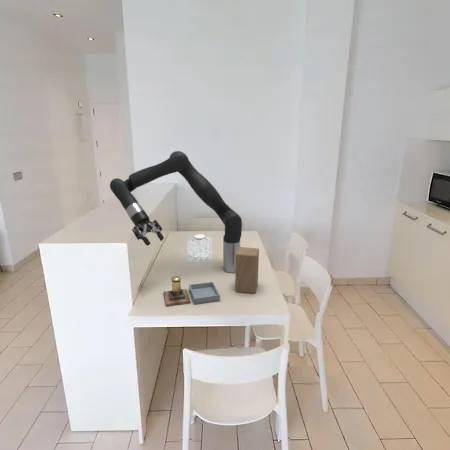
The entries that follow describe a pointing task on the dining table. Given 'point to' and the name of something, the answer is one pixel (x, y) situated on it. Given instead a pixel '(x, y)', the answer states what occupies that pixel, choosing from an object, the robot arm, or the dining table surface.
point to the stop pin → (176, 286)
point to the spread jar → (199, 237)
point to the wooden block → (246, 270)
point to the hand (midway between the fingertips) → (155, 242)
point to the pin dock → (176, 298)
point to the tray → (204, 293)
